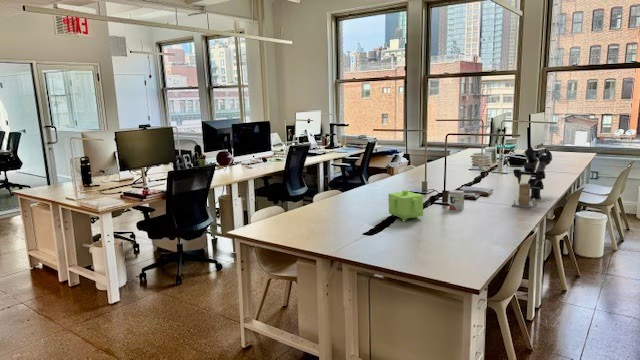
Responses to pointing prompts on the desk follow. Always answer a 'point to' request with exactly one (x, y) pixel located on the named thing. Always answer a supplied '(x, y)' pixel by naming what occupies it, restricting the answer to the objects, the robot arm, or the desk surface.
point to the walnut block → (524, 193)
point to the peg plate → (530, 205)
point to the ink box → (456, 200)
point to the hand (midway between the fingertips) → (526, 184)
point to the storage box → (405, 204)
